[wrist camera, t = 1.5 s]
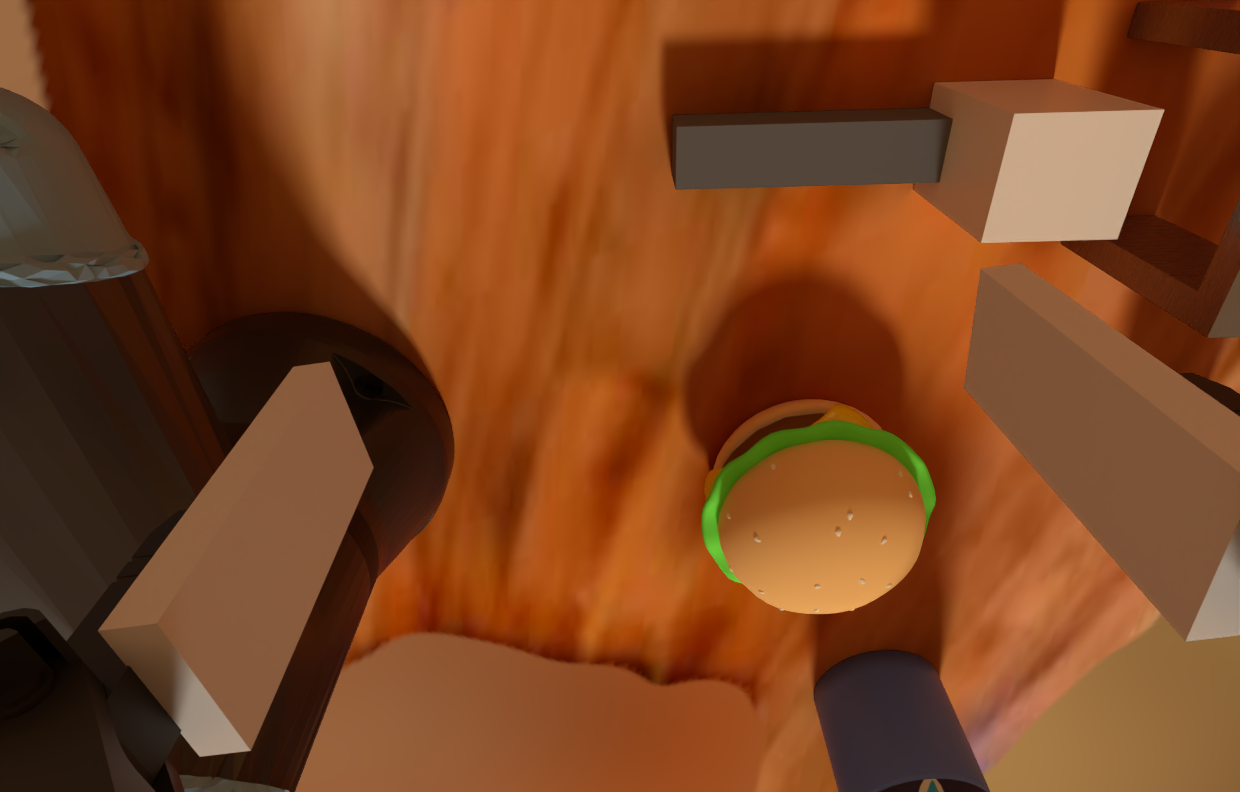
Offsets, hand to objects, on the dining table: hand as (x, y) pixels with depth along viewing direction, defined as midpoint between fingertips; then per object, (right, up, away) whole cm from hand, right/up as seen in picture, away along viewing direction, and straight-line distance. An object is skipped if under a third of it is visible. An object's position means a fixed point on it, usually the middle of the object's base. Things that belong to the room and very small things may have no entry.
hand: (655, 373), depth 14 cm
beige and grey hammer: (+10, +11, +16) cm, 22 cm away
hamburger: (+10, -4, +26) cm, 28 cm away
